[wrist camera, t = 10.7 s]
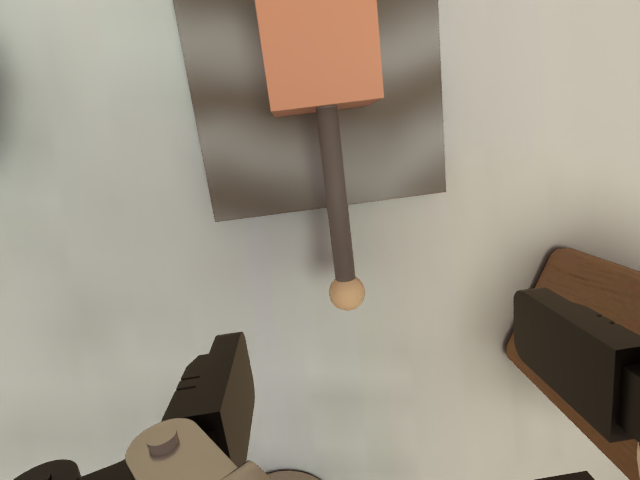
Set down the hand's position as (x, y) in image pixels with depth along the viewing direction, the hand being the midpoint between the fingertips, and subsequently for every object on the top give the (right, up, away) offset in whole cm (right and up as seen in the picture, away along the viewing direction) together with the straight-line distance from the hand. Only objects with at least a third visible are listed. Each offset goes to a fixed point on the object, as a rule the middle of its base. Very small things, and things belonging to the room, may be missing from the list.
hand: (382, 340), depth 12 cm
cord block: (-1, +8, +15) cm, 17 cm away
